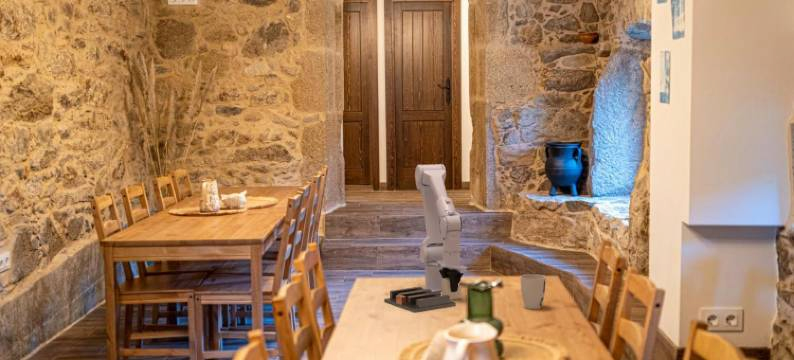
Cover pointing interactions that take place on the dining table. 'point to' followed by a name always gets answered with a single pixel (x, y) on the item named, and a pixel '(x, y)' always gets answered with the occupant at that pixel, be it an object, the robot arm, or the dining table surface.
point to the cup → (533, 290)
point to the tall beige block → (447, 290)
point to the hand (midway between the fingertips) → (451, 291)
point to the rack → (418, 299)
